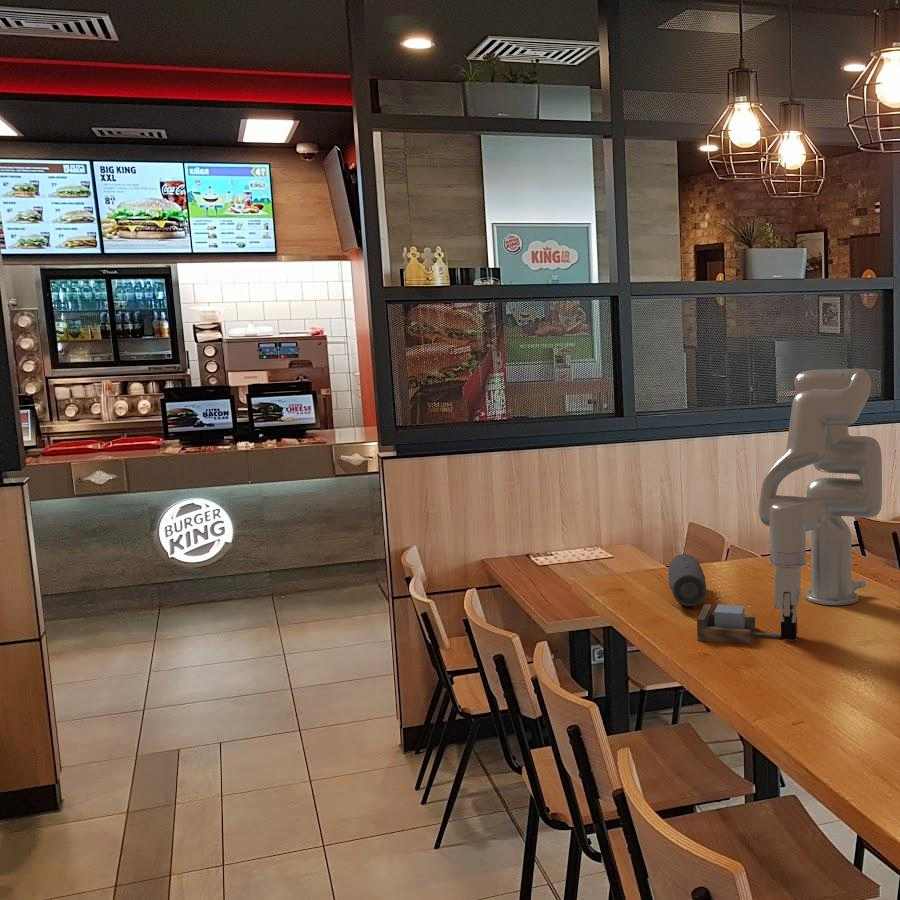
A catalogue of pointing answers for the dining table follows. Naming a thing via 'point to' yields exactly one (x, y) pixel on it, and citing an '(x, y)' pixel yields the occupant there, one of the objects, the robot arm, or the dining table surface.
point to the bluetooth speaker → (687, 580)
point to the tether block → (739, 620)
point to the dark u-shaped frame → (722, 629)
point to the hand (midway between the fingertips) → (789, 635)
